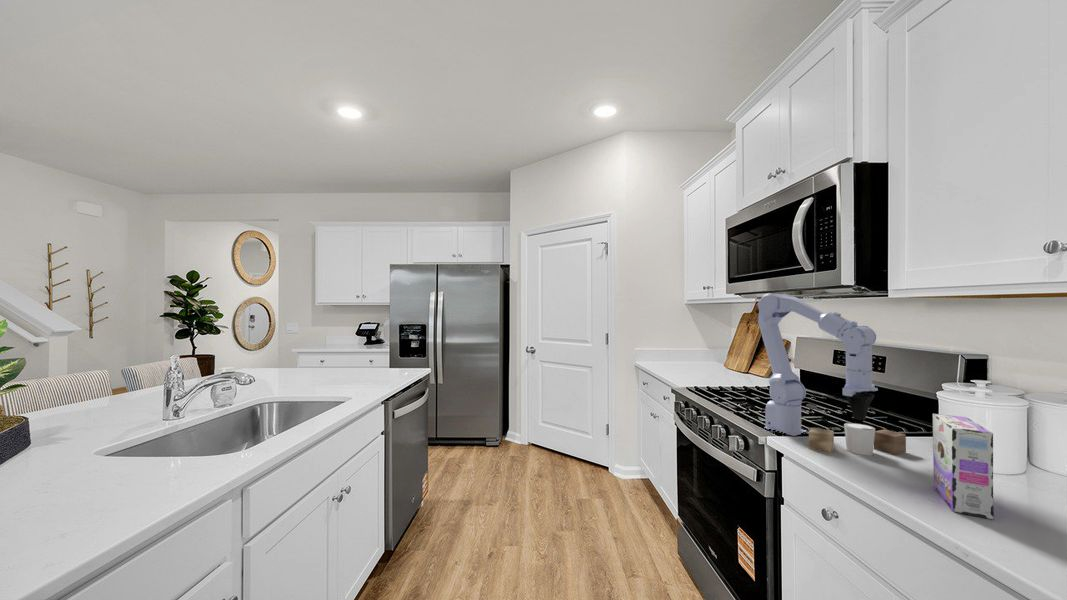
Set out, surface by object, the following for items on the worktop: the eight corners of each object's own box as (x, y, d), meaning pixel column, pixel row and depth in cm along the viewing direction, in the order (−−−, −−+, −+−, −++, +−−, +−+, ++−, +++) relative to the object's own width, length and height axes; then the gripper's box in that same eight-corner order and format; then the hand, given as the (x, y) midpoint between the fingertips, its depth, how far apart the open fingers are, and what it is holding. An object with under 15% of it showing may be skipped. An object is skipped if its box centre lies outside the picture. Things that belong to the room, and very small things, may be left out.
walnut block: (873, 449, 116) (873, 431, 116) (884, 447, 118) (884, 429, 118) (894, 455, 112) (894, 436, 112) (905, 452, 114) (905, 434, 114)
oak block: (808, 449, 116) (808, 431, 116) (812, 444, 120) (812, 427, 120) (830, 453, 113) (830, 435, 113) (833, 449, 117) (833, 431, 117)
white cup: (882, 456, 111) (882, 429, 111) (856, 456, 111) (856, 429, 111) (862, 447, 118) (862, 422, 118) (837, 447, 118) (837, 422, 118)
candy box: (995, 521, 78) (994, 432, 78) (952, 512, 81) (951, 427, 81) (969, 492, 89) (968, 416, 89) (932, 486, 92) (931, 412, 93)
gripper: (864, 374, 107) (865, 427, 107) (887, 369, 115) (888, 419, 115) (833, 370, 113) (834, 420, 113) (857, 366, 121) (858, 413, 121)
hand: (859, 419), depth 114 cm, fingers closed
